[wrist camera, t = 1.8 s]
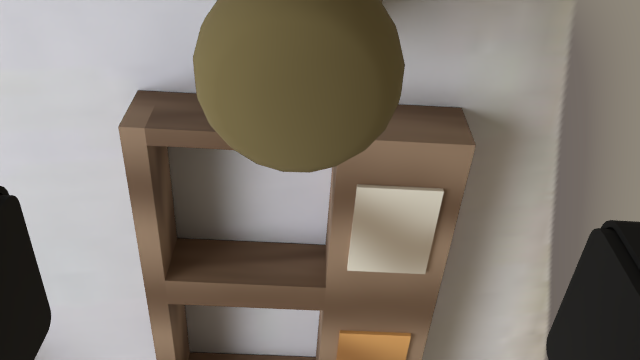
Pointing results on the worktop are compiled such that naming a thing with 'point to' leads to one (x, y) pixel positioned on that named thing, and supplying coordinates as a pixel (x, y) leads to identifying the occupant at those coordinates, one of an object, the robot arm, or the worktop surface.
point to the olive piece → (298, 78)
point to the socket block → (307, 259)
